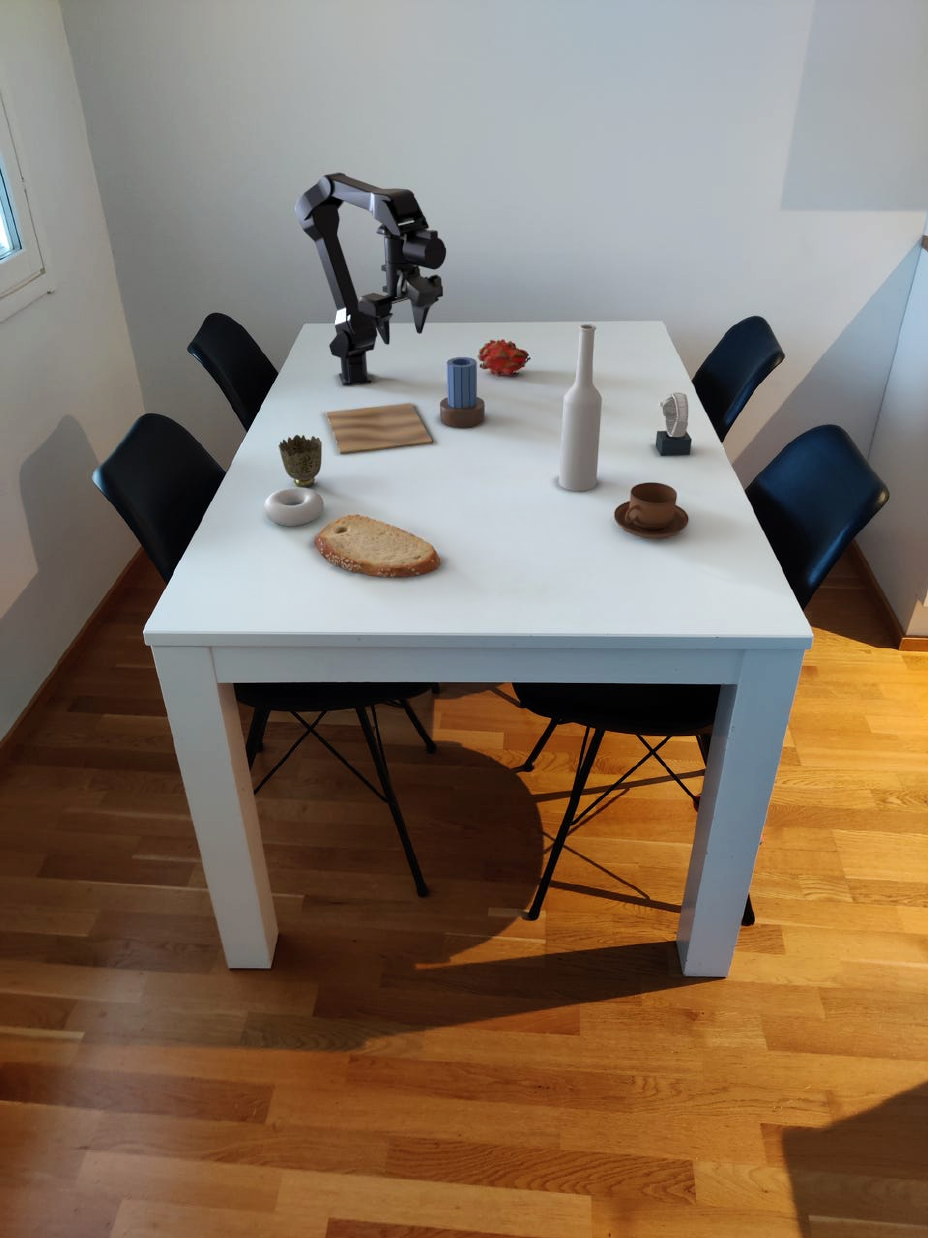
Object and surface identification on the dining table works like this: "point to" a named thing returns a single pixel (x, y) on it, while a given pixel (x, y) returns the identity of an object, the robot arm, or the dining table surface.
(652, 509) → the cup and saucer
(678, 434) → the watch
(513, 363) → the dragon fruit
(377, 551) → the bread slice
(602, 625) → the dining table surface
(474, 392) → the sleeve
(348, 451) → the wooden board
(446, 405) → the stand
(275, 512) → the donut
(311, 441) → the cup
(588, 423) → the bottle
